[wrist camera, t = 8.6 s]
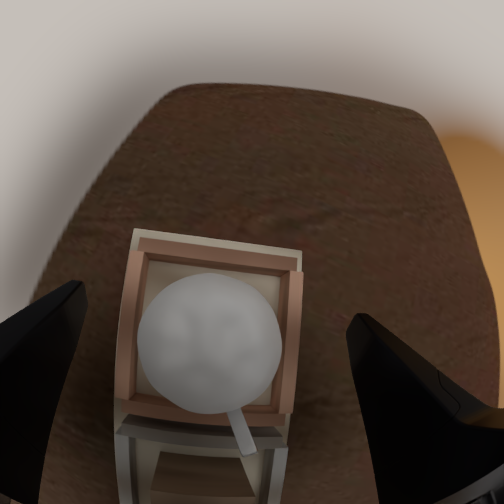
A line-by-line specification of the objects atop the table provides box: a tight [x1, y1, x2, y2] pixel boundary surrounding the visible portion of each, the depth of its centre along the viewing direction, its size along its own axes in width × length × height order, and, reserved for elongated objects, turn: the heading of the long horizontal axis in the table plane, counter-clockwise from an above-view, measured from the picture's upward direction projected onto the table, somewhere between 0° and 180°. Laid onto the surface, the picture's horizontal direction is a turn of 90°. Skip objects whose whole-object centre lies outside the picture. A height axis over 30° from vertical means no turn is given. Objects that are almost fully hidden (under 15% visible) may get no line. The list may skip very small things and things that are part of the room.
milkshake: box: [137, 273, 282, 457], centre depth 11 cm, size 4×5×10 cm
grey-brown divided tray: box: [114, 228, 303, 504], centre depth 13 cm, size 23×11×6 cm, turn 175°
